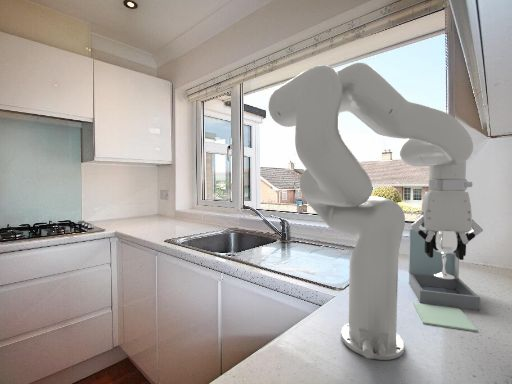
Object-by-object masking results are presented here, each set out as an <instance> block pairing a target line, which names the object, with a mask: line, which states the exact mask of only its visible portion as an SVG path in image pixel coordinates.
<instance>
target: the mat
mask: <svg viewBox="0 0 512 384" xmlns="http://www.w3.org/2000/svg"><path fill="white" fill-rule="evenodd" d="M412 306H414V308H415V310H416V313H417V314H418V316H419V318H420V321H421V322H422V324H424V325H431V326H436V327H442V328H449V329H451V328H452V329H456V330H463V331H468V332H477V333H478V328H476V326H475V325H474V324H473V323H472V322H471V321H470V319H469V318H468V317H467V316H466V315H465V313H464V312H463V311H462V310H461V308H458V307H450V306H442V305H435V304H427V303H420V302H413V303H412Z"/></svg>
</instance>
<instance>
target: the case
mask: <svg viewBox="0 0 512 384" xmlns="http://www.w3.org/2000/svg"><path fill="white" fill-rule="evenodd" d="M420 229H421V230H422V231H423V232H424V233H425V232H426V229H425V228H420ZM408 244H409V245H408V274H409V275H408V284H409V286H410V288H411V289H412V291H413V293H414V295H415V297H416V298H417V300H418V301H419V302H418V303H421V304H429V305H436V306H444V307H452V308H459V309H467V310H474V311H475V310H476V311H480V305H481V304H480V302H481V301H480V299H481V298H480V296H479V295H478V294H477V293H475V292H474V290H472V289H471V287H470V286H468V285H467V284H466V283H464V281H463V280H461V279H460V278H459V276H460V275H459V274H460V259H458V258H457V257H456V252H455V253H453V254H449V255H446V257H447V260H446V263H445V271H446V273H447V274H450V275H452V276H454V277H455V278H454V279H443V278H439V277H436V276H434V275H433V274H434V273H441V272H442V271H443V261H442V256H443V254H440V253H438V252H436V251H435V250H434V249H433V257H432V258H430V257H429V256H428V255H427V253H425V240H424V239H423V238H422V237H421V236H420V235H419V234H418V233H417V232H416V231H415V230H414V229H412V228H411V227H410V228H409V241H408ZM422 287H430V288H431V287H432V288H441V289H450V290H451V289H452V290H455V291H457V292H458V293H452V292H443V291H435V290H429V289H423V288H422Z"/></svg>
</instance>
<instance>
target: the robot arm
mask: <svg viewBox="0 0 512 384" xmlns="http://www.w3.org/2000/svg"><path fill="white" fill-rule="evenodd" d="M268 112H269V115H270V117H271V119H272V120H273V122H275V123H276V124H278V125H280V126H282V127H285V128H286V127H287V128H290V127H291V128H292V127H295V132H294V145H295V151H296V155H297V156H298V158H299V160H300V162H301V163H302V164H303V166H304V168H305V169H303V171H302V173H301V175H300V178H299V189H300V192H301V195H302V196H303V199H304V200H305V202H306V203H307V204H308V205H309V206H310V207H311V209H312V210H313V211H314V212H315V213H316V215H318V216H319V218H320V219H321V220H322V221H323V222H324V223H325V224H326V225H327V226H328V227H329V228H330V230H331V229H332V231H333V232H336V233H338V234H341V235H343V236H344V235H346V236H349V237H353V238H355V239H358V240H357V243H356V245H355V247H353V249H352V251H351V254H350V256H349V273H348V274H349V279H348V280H349V283H348V285H349V286H348V323H347V324H345V325H344V326H343V327H342V328H341V333H340V336H341V341H342V342H343V344H345V345H346V346H347V348H348V349H350V350H351V351H353V352H354V353H357V354H359V355H360V356H362V357H364V358H366V359H371V360H372V359H373V360H382V361H389V360H395V359H397V358H399V357H401V356H402V355H403V354H404V352H405V347H406V346H405V341H404V339H403V338H402V337H401V336H400V335H399V334H398V333H397V326H398V325H397V322H398V321H397V320H398V319H397V318H398V317H397V316H398V285H399V283H398V280H399V277H398V276H399V275H398V273H399V256H400V255H399V254H400V246H401V242H402V237H403V233H404V229H405V223H406V217H405V216H406V215H405V212H404V210H403V208H402V207H401V205H400V204H398V203H397V202H396V201H394V200H392V199H391V198H387V197H383V196H373V195H372V194H373V183H372V181H371V178H370V177H369V176H370V175H368V173H367V172H366V170H365V169H364V168H363V166H362V164H361V163H360V161H358V159H357V158H356V156H355V155H354V154H353V152H352V151H351V149H350V148H349V147H348V145H347V143H346V142H345V140H344V139H343V137H342V135H341V133H340V132H341V131H340V128H339V127H340V125H339V123H340V122H339V116H340V114H342V113H346V112H348V113H351V114H352V115H353V116H354V117H356V118H358V120H360V121H361V122H362V123H363V124H364V125H365V126H367V127H368V128H370V129H371V130H372V131H373V132H374V133H375V134H377V135H380V136H383V137H387V138H388V137H389V138H392V139H394V138H395V139H404V141H403V142H402V144H401V145H400V147H399V148H400V149H399V156H400V159H401V160H402V161H403V162H404V163H405V164H406V165H409V166H412V167H429V168H428V170H429V171H428V172H429V173H428V191H424V194H423V197H422V204H421V210H420V211H421V212H420V217H419V218H418V219H417V220H415V221H414V222H413V223H412V224H411V225H410V228H411V229H414V230H415V231H416V232H417V233H418V234H419V235H420V236H421V237H422V238H423V239H424V240H425V253H427V255H428V256H429V257H430V258H432V257H433V242H432V237H433V235H434V233H435V231H454V232H457V234H458V239H459V247H458V250H457V251H456V257H457V258H458V259H459V261H464V260H465V259H464V258H465V257H466V255H467V245H468V244H469V242H471V240H473V239H474V238H475V237H476V236H478V235H479V234H481V233H482V232H483V231H484V229H483V228H482V227H481V226H480V225H479V224H478V223H477V222H476V221H475V220H474V219H473V217H472V205H471V204H472V203H471V199H470V198H471V197H470V194H469V192H468V191H466V190H467V189H468V188H472V187H473V182H472V181H468V180H467V178H466V177H467V176H466V175H467V174H466V173H467V172H466V171H467V160H468V159H470V157H471V156H472V154H473V150H474V143H473V139H472V137H471V135H470V133H469V132H468V130H467V129H466V127H464V126H463V125H462V123H461V122H460V121H459V120H458V119H456V118H455V117H454V116H453V115H451V114H450V113H447V112H445V111H442V110H439V109H436V108H434V107H429V106H426V105H423V104H419V103H415V102H411V101H408V100H407V99H406V98H405V97H403V95H402V94H401V93H400V92H398V90H396V89H395V87H393V86H392V85H391V84H390V83H389V82H388V81H387V80H386V79H385V78H384V77H383V76H382V75H381V74H380V73H379V72H378V71H377V70H376V69H375V68H373V66H371V65H369V64H368V63H365V62H355V63H352V64H349V65H347V66H345V67H342V68H341V69H339V70H336V69H335V68H333V67H332V66H330V65H327V64H326V65H325V64H324V65H323V64H322V65H321V64H320V65H316V66H313V67H310V68H308V69H306V70H304V71H303V72H300V73H299V74H298V75H296V76H294V77H293V78H292V79H290V80H288V81H287V82H285V83H283V84H282V85H280V86H278V87H277V88H276V89H275V90H274V91H273V92H272V93H271V95H270V97H269V100H268ZM420 226H421V227H422V228H423V229H426V232H425V233H424V232H423V231H422V230H421V229H422V228H420Z"/></svg>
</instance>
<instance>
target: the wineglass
mask: <svg viewBox="0 0 512 384" xmlns="http://www.w3.org/2000/svg"><path fill="white" fill-rule="evenodd" d="M432 242H433V249H434V250H435V251H436V252H438V253H440V254H443V256H442V261H443V271H442V272H441V273H434V274H433V275H434V276H436V277H439V278H443V279H454V278H455V277H454V276H452V275H450V274H447V273H446V271H445V263H446V260H447V257H446V255H449V254H453V253H455V252H456V251H457V250H458V247H459V239H458V234H457V232H454V231H435V233H434V235H433V237H432Z"/></svg>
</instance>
